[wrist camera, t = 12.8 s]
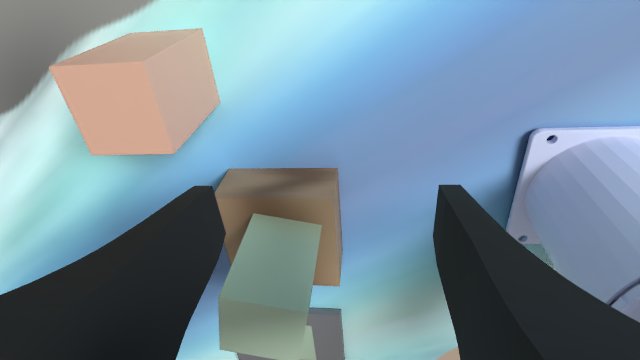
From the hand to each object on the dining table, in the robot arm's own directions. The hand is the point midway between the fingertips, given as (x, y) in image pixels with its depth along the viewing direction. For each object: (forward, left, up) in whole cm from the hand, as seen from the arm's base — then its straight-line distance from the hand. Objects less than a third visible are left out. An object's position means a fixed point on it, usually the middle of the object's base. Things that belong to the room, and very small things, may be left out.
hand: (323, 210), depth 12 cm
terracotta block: (+9, -2, -10) cm, 14 cm away
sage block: (+4, +8, -7) cm, 11 cm away
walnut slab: (+4, +8, -10) cm, 14 cm away
